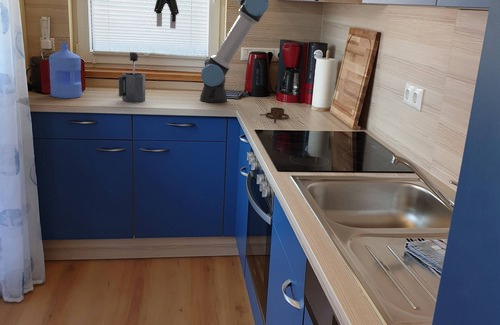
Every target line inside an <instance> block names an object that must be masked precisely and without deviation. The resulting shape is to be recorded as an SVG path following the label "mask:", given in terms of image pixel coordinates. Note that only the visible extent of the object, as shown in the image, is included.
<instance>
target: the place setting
mask: <svg viewBox="0 0 500 325" xmlns="http://www.w3.org/2000/svg"><path fill="white" fill-rule="evenodd" d="M269 111H270V112H266V113H259V115H260V116H265V117H266V118H268V119H271V120H273V122H274V123H273V124H277V120H278V121H279V120H281V121H282V120H288V119H289V116H290V115H289V114H287V113H285V108H282V107H270V110H269Z"/></svg>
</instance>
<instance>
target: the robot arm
mask: <svg viewBox="0 0 500 325" xmlns="http://www.w3.org/2000/svg"><path fill="white" fill-rule="evenodd" d="M235 1H236V2H237V3H238V5H239V6H240V8H239V9H238V12H239V13H238V14H239V15H238V17H237V19H236V21H234V23H233V25H232V26H231V28H230V30H229V32H228V33H227V35H226V37H225V38H224V40H223V41H222V43H221V45H220V46H219V48H218V50H217V51H216V53H215V54H214V55H210V57H209V58H205V59H204V62H203V64H204V66H203V68H202V69H201V72H200V74H201V75H200V76H201V80H202V82H203V87H202V90H201V93H200V96H199V98H200V99H199V101H201V102H205V103H213V104H221V103H222V104H223V103H226V102H228V97H227V96H228V95H227V92H226V89H225V85H226V75H227V74H228V72H229V71H230V69H231V67H230V64H231V62H232V60H233V58H234V57H235V55H236V54H237V52H238V51H239V49H240V47H241V46H242V44H243V42H244V40H245V39H246V38H247V36H248V34H249V33H250V31H251V29H252V28H253V26H254V25H255V24H256V25H257V24H258V23H259V22H260V21H261V19H262V17H263V16H264V14H265V13H266V12H267V11H268V8H269V0H235ZM165 5H167V6H168V9H169V11H170V14H169V15H170V18H169V29H176V27H177V26H176V23H177V15H179V11H180V10H179V7H178V3H177V0H156V2H155V6H154V8H153V9H154V10H153V12H155V14H156V27H157V28H158V27H159V28H160V27H161V28H162V26H163V12H162V11H163V9H164V7H165Z"/></svg>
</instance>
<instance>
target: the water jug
mask: <svg viewBox="0 0 500 325" xmlns="http://www.w3.org/2000/svg"><path fill="white" fill-rule="evenodd" d="M60 43H61V45H60V46H61V49H60V50H59V51H57V52H54V53H52V54H50V55H49V57H48V64H49V80H50V81H49V82H50V96H51V97H53V98H58V99H76V98H80V97H82V95H83V91H82V80H81V79H82V78H81V76H82V75H81V70H82V66H81V64H82V59H81V56H79V55H78V54H76V53H75V52H72V51H71V50H69V48H68V46H69V45H68V41H60Z"/></svg>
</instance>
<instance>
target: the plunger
mask: <svg viewBox="0 0 500 325" xmlns="http://www.w3.org/2000/svg"><path fill="white" fill-rule="evenodd" d="M138 56H139V52H138V51H137V52H135V51H133V52H132V51H130V52H129V61H130V62H131V61H132V73H133V76H135V73H136V62H138V60H139V58H138Z"/></svg>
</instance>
